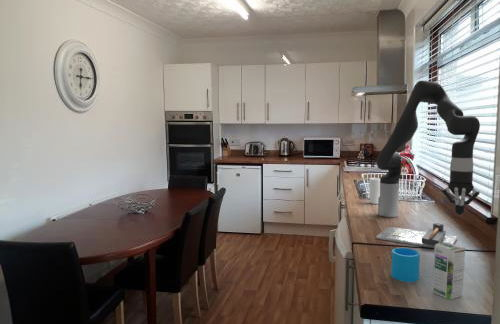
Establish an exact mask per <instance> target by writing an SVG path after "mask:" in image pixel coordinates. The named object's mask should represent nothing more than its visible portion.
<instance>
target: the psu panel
mask: <svg viewBox="0 0 500 324" xmlns="http://www.w3.org/2000/svg"><path fill="white" fill-rule="evenodd" d="M427 232H428V231H422V230H416V229H409V228H401V227H396V226H395V227H394V226H387V227H386V228H385V229H383V230H382V231H381V232H380V233H378V234H377V235H376V236H375V237H376V238H375V239H377V240H383V241H389V242H395V243H402V244H407V245H414V246H418V247H419V246H420V247H425V248H430V249H435V245H430V244H424V243H422V237H423V236H424V235H425V234H426V233H427ZM457 240H458V235H457V236H455V235H449V234H445V237H444V238H443V240H442V241H441V243H442V242H449V243H452V244H455V243H456V242H457Z"/></svg>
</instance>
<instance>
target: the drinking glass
mask: <svg viewBox="0 0 500 324" xmlns="http://www.w3.org/2000/svg"><path fill="white" fill-rule="evenodd" d="M380 178H381V177H380ZM380 178H379V177H370V178H369V182H368V183H369V199H370V201H369V203H370V204H372V205H378V198H379V197H380Z"/></svg>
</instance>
